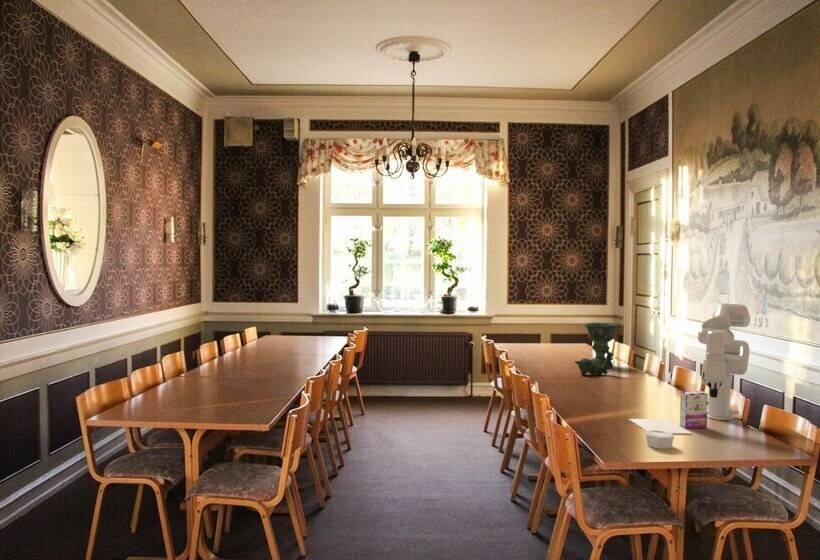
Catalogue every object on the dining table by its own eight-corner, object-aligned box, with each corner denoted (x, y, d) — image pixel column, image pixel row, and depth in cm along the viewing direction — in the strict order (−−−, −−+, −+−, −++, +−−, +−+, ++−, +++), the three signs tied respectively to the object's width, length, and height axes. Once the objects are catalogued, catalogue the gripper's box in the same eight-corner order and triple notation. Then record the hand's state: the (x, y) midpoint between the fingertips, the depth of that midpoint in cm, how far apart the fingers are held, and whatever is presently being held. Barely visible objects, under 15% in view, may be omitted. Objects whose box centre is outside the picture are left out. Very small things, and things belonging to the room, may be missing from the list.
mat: (667, 420, 308) (667, 419, 308) (691, 434, 284) (691, 433, 284) (628, 420, 307) (628, 418, 307) (650, 434, 283) (650, 433, 283)
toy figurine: (607, 376, 428) (570, 372, 426) (610, 348, 427) (574, 344, 425) (612, 379, 419) (575, 375, 416) (615, 350, 418) (578, 346, 416)
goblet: (623, 367, 454) (624, 325, 453) (600, 369, 443) (601, 326, 442) (599, 362, 473) (600, 322, 472) (577, 364, 462) (578, 323, 461)
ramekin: (666, 442, 272) (667, 430, 272) (678, 450, 261) (678, 437, 261) (640, 442, 272) (641, 429, 271) (651, 450, 261) (651, 437, 260)
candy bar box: (700, 425, 300) (701, 390, 300) (707, 428, 295) (708, 393, 295) (678, 426, 298) (680, 391, 297) (685, 429, 293) (686, 393, 292)
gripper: (726, 356, 300) (724, 395, 301) (695, 356, 299) (693, 395, 300) (735, 359, 292) (733, 399, 293) (703, 358, 292) (701, 398, 292)
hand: (713, 397), depth 296 cm, fingers closed
